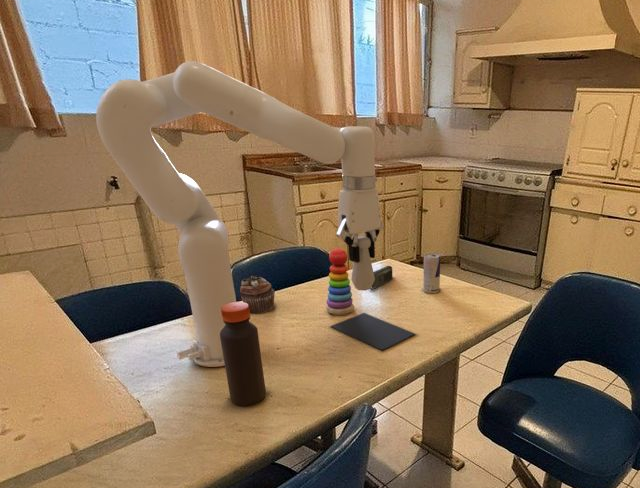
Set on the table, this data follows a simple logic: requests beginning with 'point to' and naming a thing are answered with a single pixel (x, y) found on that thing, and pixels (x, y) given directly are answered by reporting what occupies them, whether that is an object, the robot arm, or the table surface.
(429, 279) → the energy drink
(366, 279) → the salt shaker
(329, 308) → the stacking toy
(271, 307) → the cupcake
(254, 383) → the bottle
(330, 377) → the table surface
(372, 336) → the mat
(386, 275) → the mobile phone
